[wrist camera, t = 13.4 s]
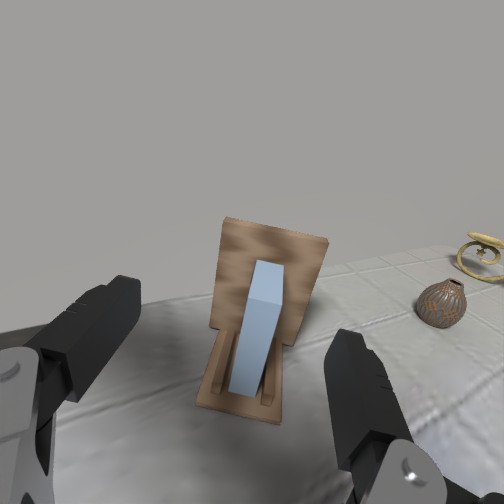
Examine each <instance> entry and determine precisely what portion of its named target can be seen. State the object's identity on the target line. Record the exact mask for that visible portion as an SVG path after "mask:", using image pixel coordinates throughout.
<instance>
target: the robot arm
mask: <svg viewBox="0 0 504 504" xmlns="http://www.w3.org/2000/svg"><path fill="white" fill-rule="evenodd" d="M140 313H141V283H140V280H138V279H134V278H130V277H126V276H122V275H118V276H116V277H115V278H114V279H113V280H112V281H111V282H110V283H109V284H108V285H107V286H106V285H99V286H97V287H95V288H93V289H91V290H89V291H87V292H85V293H84V294H83V295H82V296H81V297H80V298H78V299H77V300H76V301H75V303H73V304H72V305H70V306H69V307H68V308H67V309H66V311H63V312H62V313H61V314H60V315H59V316H57V318H55V319H54V320H53V321H52V322H50V323H49V324H48V325H47V326H46V327H45V328H44V329H42V330H41V331H40V332H39V333H38V334H37V335H35V336H34V337H33V338H32V339H31V340H30V341H28V342H27V343H26V344H25V345H23V346H22V347H12V348H7V349H3V350H1V351H0V504H55V500H54V491H53V464H54V448H55V431H56V410H57V409H58V408H59V406H60V405H61V404H62V402H63V401H64V400H67V401H71V402H75V403H78V402H79V400H80V399H81V398H82V396H83V395H84V394H85V392H86V391H87V389H88V388H89V387H90V385H91V384H92V383H93V381H94V380H95V379H96V377H97V376H98V375H99V373H100V372H101V370H102V369H103V368H104V366H105V365H106V364H107V362H108V361H109V360H110V358H111V357H112V356H113V354H114V353H115V351H116V350H117V349H118V347H119V346H120V345H121V343H122V342H123V341H124V339H125V338H126V337H127V335H128V334H129V333H130V331H131V330H132V328H133V327H134V326H135V324H136V323H137V321H138V319H139V316H140ZM324 374H325V381H326V388H327V395H328V402H329V409H330V415H331V422H332V429H333V436H334V443H335V449H336V456H337V463H338V469H340V470H344V471H348V472H351V474H352V479H353V484H352V485H351V487H350V489H349V491H348V493H347V495H346V497H345V499H344V501H343V503H342V504H504V495H503V494H500V493H496V492H492V493H489V494H487V495H485V496H484V497H482V498H479V497H477V496H476V495H474V494H472V493H471V492H469V491H467V490H466V489H464V488H462V487H460V486H459V485H457V484H455V483H454V482H452V481H450V480H449V479H447V478H445V477H444V476H443V475H442V473H441V472H440V470H439V468H438V467H437V465H436V463H435V462H434V461H433V460H432V458H431V457H430V456H429V455H428V454H427V453H426V452H425V451H424V450H423V449H421V448H420V447H419V446H417V445H416V444H415V443H414V441H413V439H412V437H411V434H410V431H409V429H408V426H407V424H406V421H405V419H404V416H403V414H402V411H401V409H400V406H399V403H398V401H397V398H396V396H395V393H394V392H393V388H392V386H391V383H390V380H388V375H387V373H386V370H385V368H384V365H383V363H382V362H381V360H380V359H379V358H378V357H377V355H376V354H375V353H374V351H373V350H369V349H367V347H366V344H365V342H364V339H363V336H362V334H361V333H357V332H353V331H349V330H345V329H339V330H338V332H337V333H336V335H335V337H334V339H333V341H332V343H331V345H330V347H329V349H328V351H327V353H326V356H325V360H324Z"/></svg>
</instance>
